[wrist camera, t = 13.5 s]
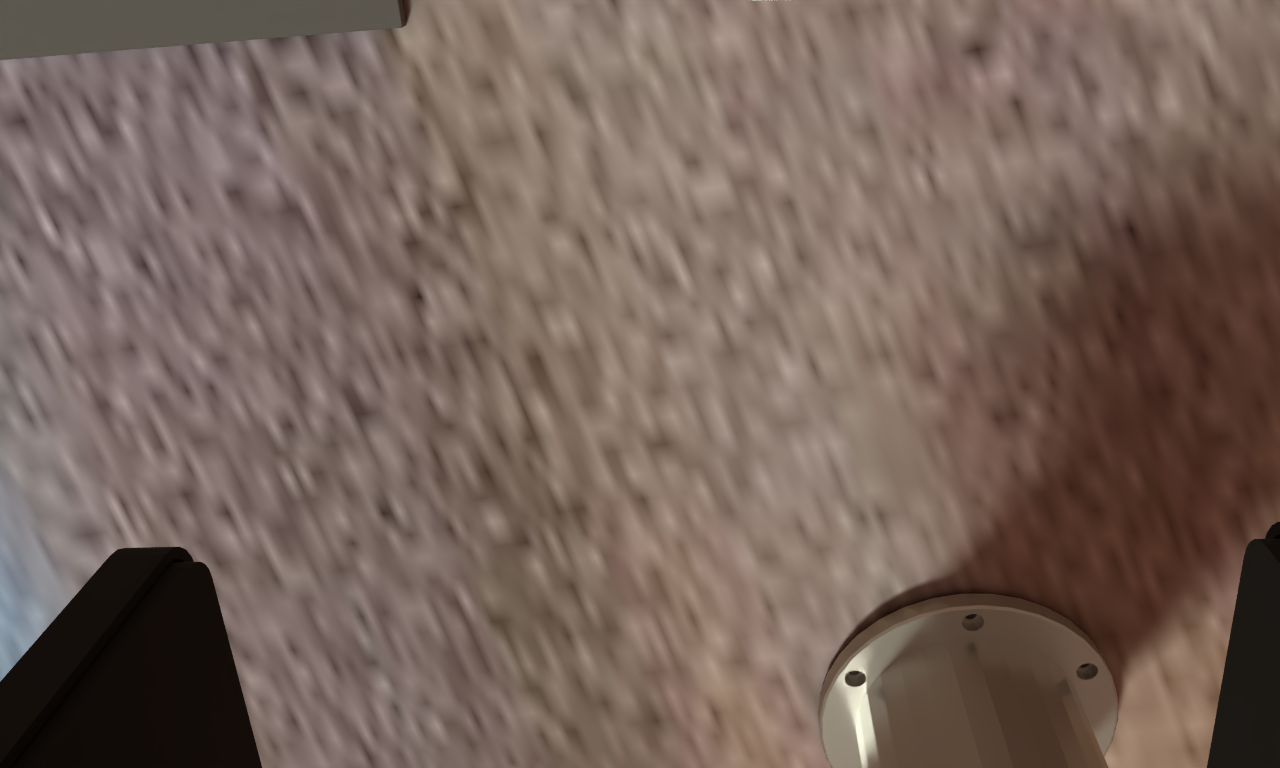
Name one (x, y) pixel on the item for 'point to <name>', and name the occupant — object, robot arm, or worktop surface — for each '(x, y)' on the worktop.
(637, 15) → the worktop surface
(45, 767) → the robot arm
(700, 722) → the worktop surface
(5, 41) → the mat
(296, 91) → the worktop surface
